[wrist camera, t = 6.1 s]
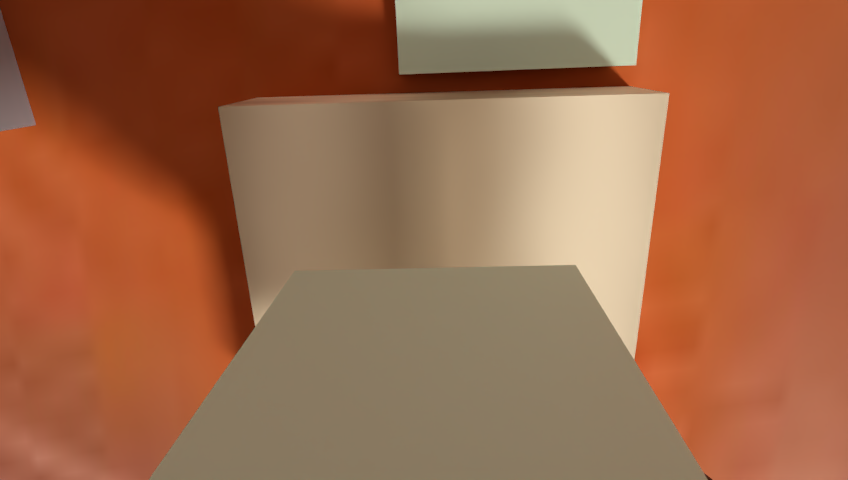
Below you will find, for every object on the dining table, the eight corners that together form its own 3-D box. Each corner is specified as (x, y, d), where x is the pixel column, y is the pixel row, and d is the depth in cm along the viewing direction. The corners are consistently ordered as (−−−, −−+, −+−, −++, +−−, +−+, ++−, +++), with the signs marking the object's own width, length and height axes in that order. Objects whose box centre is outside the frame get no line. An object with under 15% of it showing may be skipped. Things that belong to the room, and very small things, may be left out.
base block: (303, 391, 18) (277, 455, 15) (262, 96, 14) (217, 106, 11) (592, 390, 17) (621, 456, 14) (623, 85, 14) (669, 93, 11)
